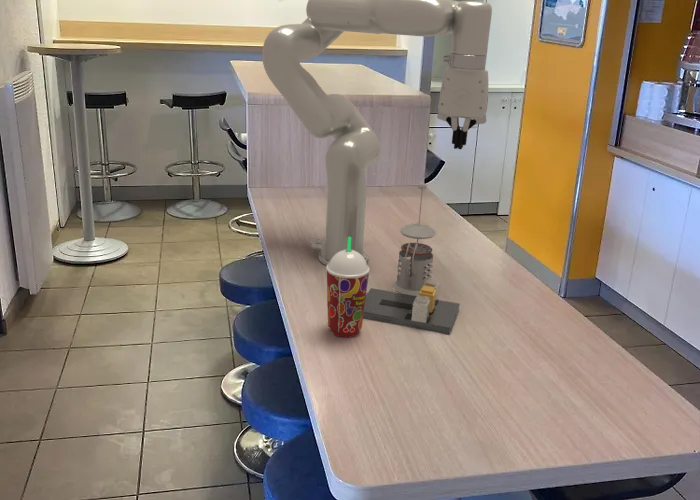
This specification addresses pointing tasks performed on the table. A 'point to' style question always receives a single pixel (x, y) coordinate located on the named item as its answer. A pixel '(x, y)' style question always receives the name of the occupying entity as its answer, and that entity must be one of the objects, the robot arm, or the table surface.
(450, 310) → the panel
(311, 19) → the robot arm
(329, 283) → the smoothie
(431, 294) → the orange rectangular block
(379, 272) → the table surface
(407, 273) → the french press
